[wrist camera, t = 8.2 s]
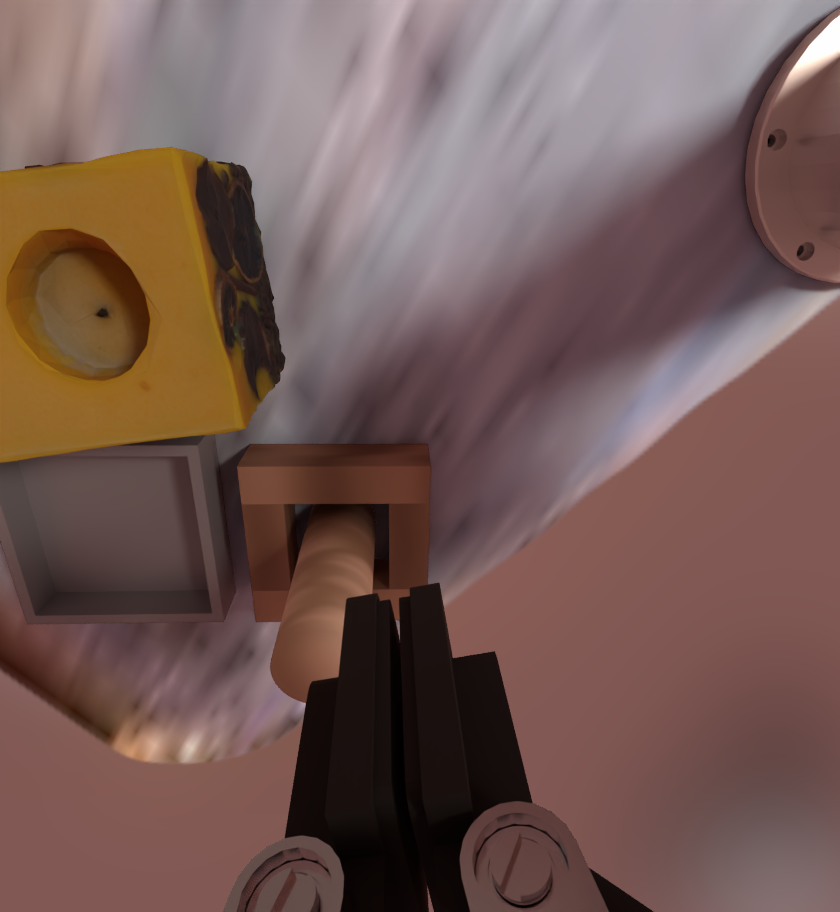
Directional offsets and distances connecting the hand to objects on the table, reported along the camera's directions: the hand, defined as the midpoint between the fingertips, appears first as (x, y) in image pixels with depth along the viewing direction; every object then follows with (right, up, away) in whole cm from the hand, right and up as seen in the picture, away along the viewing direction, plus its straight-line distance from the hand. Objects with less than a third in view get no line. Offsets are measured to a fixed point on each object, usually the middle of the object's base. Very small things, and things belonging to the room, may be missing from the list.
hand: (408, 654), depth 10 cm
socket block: (-4, 0, +24) cm, 25 cm away
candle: (-12, +12, +19) cm, 26 cm away
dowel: (-4, 0, +24) cm, 25 cm away
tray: (-17, 0, +24) cm, 29 cm away
